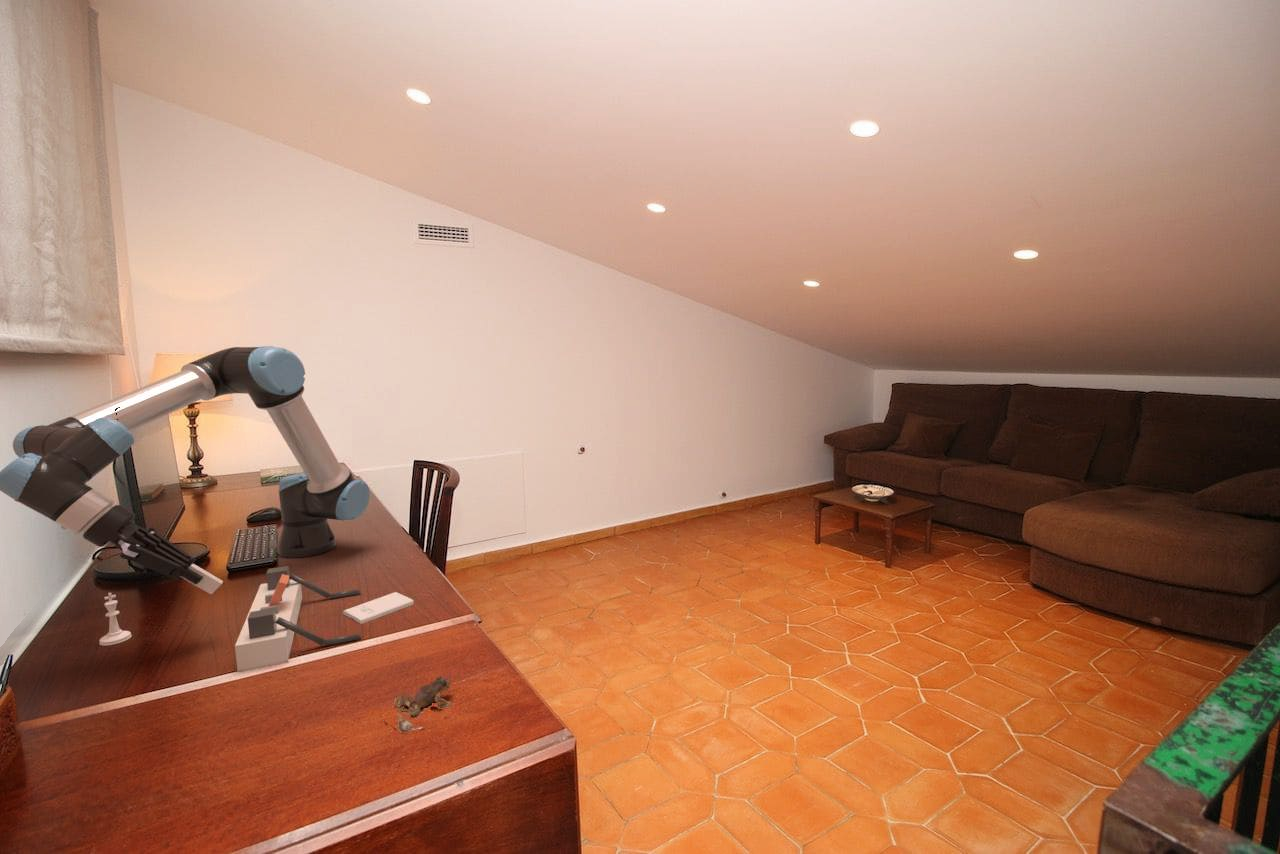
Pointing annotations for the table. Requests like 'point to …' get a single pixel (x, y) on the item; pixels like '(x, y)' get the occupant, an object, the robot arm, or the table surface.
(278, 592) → the block
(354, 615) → the external hard drive
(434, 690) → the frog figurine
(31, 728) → the table surface
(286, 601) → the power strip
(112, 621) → the chess piece
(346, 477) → the robot arm
